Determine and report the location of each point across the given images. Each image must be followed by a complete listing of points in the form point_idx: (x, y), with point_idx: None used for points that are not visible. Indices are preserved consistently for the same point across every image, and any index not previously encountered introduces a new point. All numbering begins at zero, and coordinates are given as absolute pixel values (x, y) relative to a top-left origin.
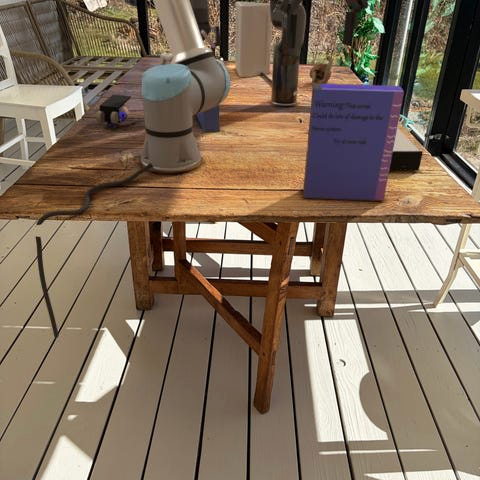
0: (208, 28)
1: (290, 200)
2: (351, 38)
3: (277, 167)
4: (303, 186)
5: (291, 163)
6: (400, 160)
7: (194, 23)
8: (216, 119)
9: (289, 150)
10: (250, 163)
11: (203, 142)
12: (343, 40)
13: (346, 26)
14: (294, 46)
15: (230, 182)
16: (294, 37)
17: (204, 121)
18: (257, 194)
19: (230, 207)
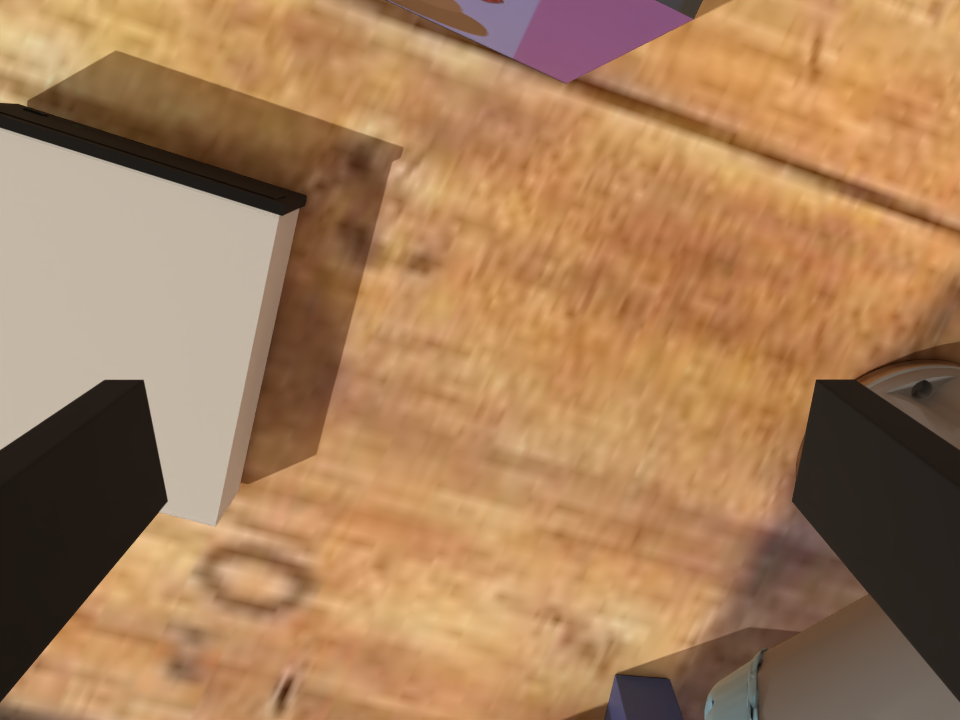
0: None
1: None
2: (70, 414)
3: (562, 313)
4: (567, 82)
5: (495, 333)
6: (80, 130)
7: None
8: (636, 712)
9: (447, 449)
10: (641, 376)
11: (713, 595)
12: (147, 512)
13: (42, 591)
14: (832, 387)
15: (788, 234)
16: (896, 432)
17: (679, 712)
18: (747, 99)
19: (894, 19)
